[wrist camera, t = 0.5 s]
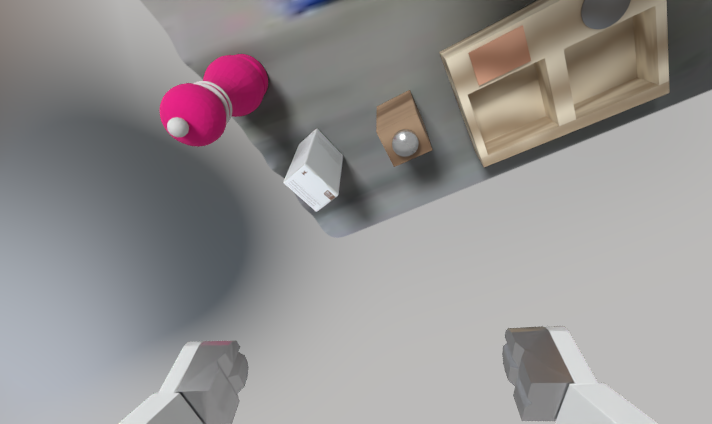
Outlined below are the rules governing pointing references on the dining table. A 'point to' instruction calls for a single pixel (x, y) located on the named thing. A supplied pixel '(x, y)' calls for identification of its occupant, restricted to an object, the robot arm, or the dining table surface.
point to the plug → (402, 129)
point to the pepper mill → (214, 99)
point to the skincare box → (315, 171)
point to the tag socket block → (557, 70)
